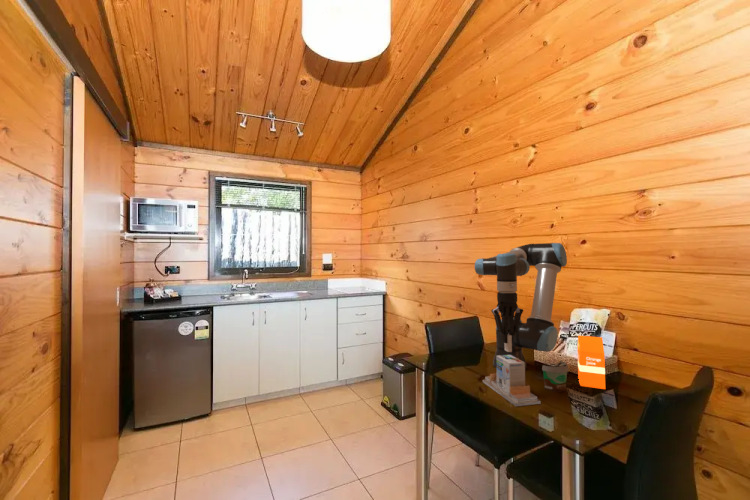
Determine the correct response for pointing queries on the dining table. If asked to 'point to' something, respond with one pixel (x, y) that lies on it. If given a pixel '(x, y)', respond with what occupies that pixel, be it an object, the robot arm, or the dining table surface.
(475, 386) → the dining table surface
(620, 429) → the dining table surface
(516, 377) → the light bulb box
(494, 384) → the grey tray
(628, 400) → the dining table surface
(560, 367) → the food container
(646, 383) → the dining table surface
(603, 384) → the orange juice
